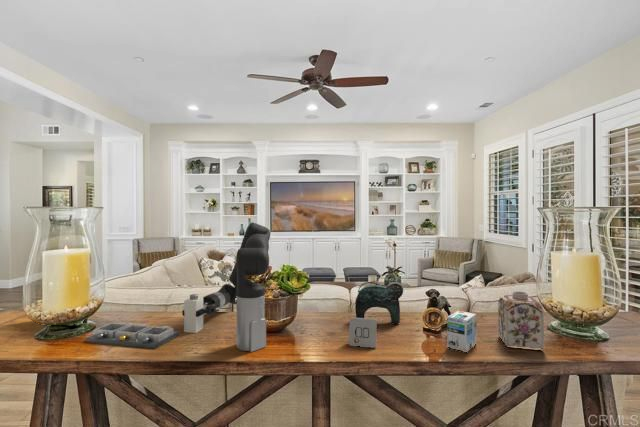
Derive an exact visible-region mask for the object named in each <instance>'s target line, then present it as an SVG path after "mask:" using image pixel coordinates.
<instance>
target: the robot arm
mask: <svg viewBox="0 0 640 427" xmlns="http://www.w3.org/2000/svg"><path fill="white" fill-rule="evenodd" d="M270 239H271V230H270V229H269V228H268V227H266V226H264V225H261V224H259V223H256V222H250V224H248V226H247V227H246V230H245V233H244V235H243V239H242V241H241V244H240V247H239V249H238V250H237V251H236V257H235V263H234V266H233V268H232V270H231V273H230V275H229V278H228V279H229V282H230V283H225V284H223V285H222V286H221V287H220V289H219V290H218V291H215V292H211V293H210V294H208V295H205V296H202V298H203V308H202V309H200V310H198V311H196V317H199V316H201V315H203V316H204V315H208V316H210V315H212V314H215V313H218V312H219V311H220V309H221V308H223V307H225V306H226V305H228V304H231V305H236V348H237V349H238V350H240V351H243V352H244V351H245V352H250V353H251V352H252V353H253V352H255V351H258V350H261V349H263V348H266V347H267V318H265V301H266V300H265V294H266V293H265V287H264V285H262V284H259V283H256V282H254V281H252V280H250V278H248V276H263V275H265V274H266V273H267V272H268V270H269V266H270V256H269V255H270V254H269V249H270V247H269V246H270V245H269V244H270V243H269V242H270ZM231 284H232V285H231ZM236 296H237V303H236V302H235V298H236ZM181 313H182V316H183V317H184V309H182V311H181Z"/></svg>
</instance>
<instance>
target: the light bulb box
mask: <svg viewBox="0 0 640 427" xmlns="http://www.w3.org/2000/svg"><path fill="white" fill-rule="evenodd" d="M477 318H478V315H477V314H476V313H472V312H467V311H463V310H457V311H455V312H453V313H452V314H449V315H447V321H446V322H447V323H446V324H447V326H446V327H447V332H446V333H447V334H446V335H447V338H446V339H447V340H446V341H447V342H446V343H447V344H446V345H447V347H450V348H454V349H459V350H464V351H468V350H469V349H470V348H472V347H473V346H474V345H475V344H476V343H477V344H478V342H477V340H478V339H477V337H478V336H477V334H478V333H477V328H478V326H477V325H478V320H477ZM447 347H446V348H447ZM473 348H474V347H473ZM473 348H472V349H473Z"/></svg>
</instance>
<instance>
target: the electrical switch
mask: <svg viewBox="0 0 640 427" xmlns="http://www.w3.org/2000/svg"><path fill="white" fill-rule="evenodd" d="M377 324H378V322H377V319H375V318H366V317H364V318H356V317H350V318H349V329H348V345H349V346H350V347H357V346H360V348H369V347H370V349H371V348H372V349H375V348H377V328H378V327H377Z"/></svg>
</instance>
